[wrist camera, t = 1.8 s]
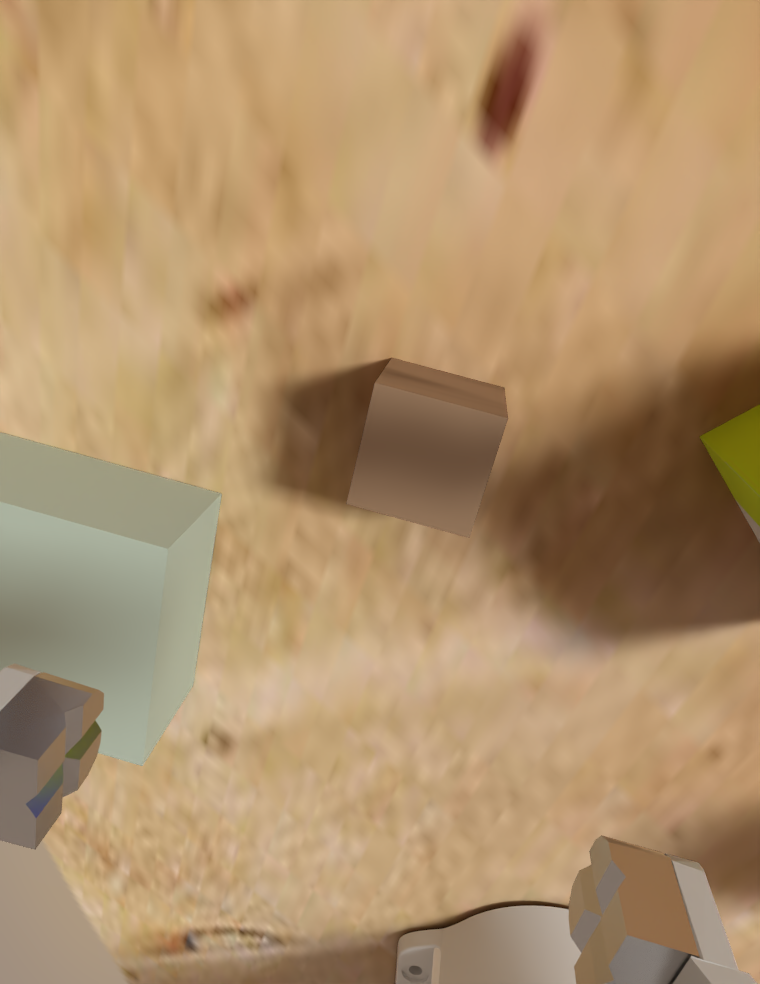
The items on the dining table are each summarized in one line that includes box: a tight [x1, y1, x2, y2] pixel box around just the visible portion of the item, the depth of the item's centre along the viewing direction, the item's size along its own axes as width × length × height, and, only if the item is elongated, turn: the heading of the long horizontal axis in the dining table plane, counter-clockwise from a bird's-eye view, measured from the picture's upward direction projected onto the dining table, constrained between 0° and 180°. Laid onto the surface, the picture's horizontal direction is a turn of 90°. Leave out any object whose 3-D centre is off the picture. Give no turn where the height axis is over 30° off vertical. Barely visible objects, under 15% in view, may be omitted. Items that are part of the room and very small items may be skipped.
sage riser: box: [0, 432, 222, 766], centre depth 32 cm, size 12×12×6 cm
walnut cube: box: [346, 358, 508, 538], centre depth 28 cm, size 5×5×5 cm
